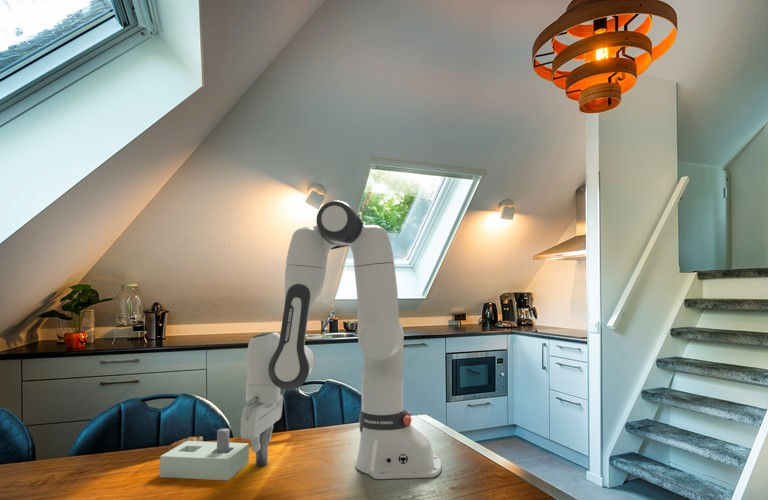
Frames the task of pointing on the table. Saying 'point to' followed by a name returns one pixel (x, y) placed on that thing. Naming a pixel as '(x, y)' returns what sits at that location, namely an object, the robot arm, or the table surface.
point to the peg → (262, 450)
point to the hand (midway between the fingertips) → (261, 446)
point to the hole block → (205, 459)
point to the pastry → (185, 441)
